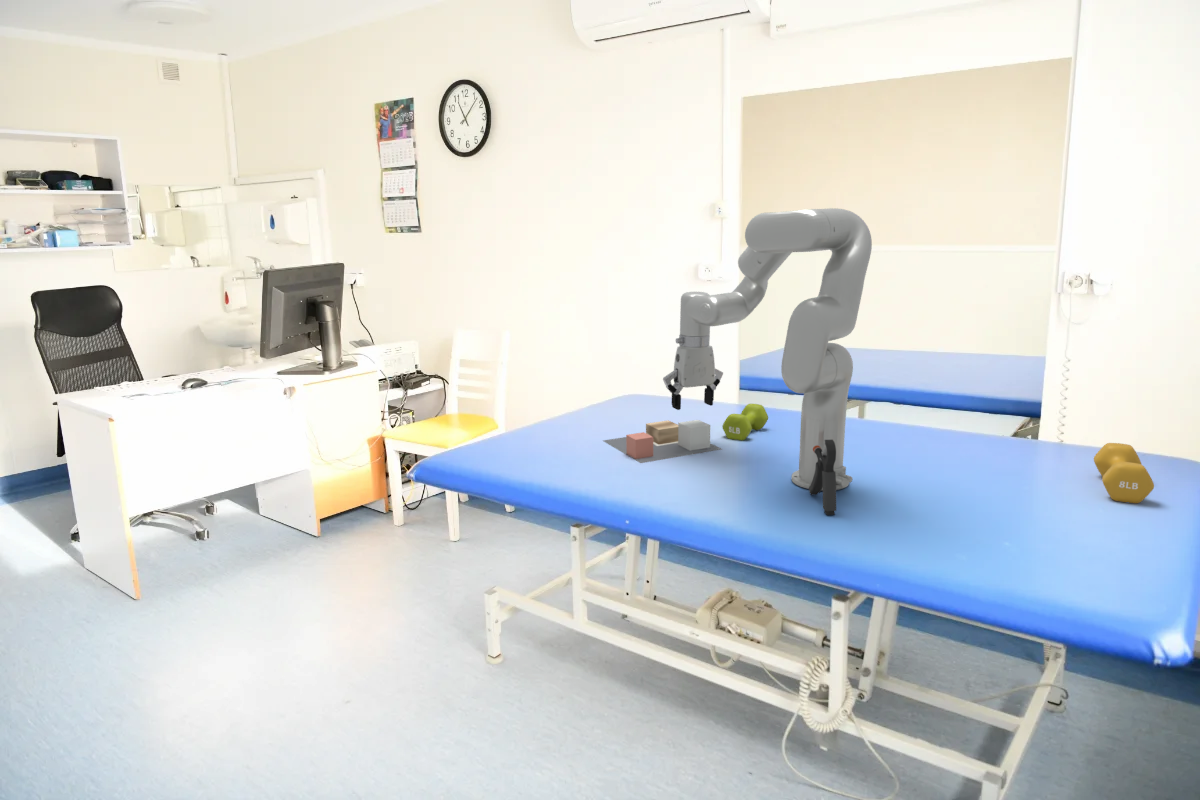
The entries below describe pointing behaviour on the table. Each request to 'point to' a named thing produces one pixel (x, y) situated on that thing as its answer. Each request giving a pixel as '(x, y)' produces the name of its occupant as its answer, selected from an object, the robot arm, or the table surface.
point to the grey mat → (660, 450)
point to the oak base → (663, 431)
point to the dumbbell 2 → (1123, 473)
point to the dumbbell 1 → (745, 422)
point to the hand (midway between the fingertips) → (692, 406)
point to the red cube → (639, 445)
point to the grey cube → (694, 435)
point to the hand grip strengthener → (825, 476)
